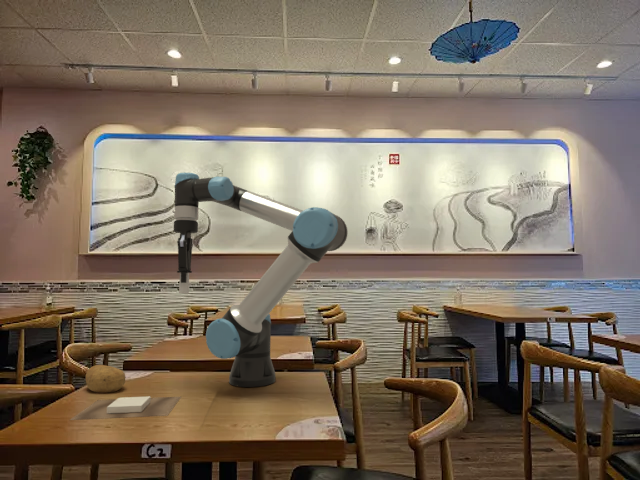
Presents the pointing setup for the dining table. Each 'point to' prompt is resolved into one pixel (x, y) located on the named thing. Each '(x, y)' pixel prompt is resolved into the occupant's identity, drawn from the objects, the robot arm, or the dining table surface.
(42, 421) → the dining table surface
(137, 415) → the board
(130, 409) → the tile
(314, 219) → the robot arm
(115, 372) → the potato
